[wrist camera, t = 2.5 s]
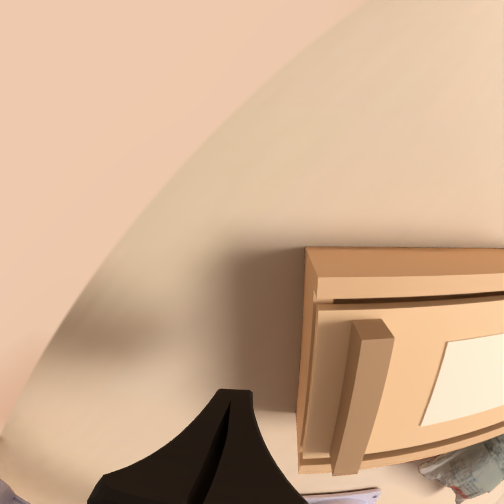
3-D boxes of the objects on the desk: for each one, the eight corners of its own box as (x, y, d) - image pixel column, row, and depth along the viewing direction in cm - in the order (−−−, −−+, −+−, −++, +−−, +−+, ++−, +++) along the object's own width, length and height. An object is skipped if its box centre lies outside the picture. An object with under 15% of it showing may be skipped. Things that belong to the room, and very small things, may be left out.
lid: (517, 408, 12) (532, 427, 10) (302, 450, 14) (303, 482, 11) (559, 288, 11) (583, 301, 8) (316, 304, 12) (324, 330, 10)
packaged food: (449, 487, 20) (462, 518, 15) (410, 453, 19) (427, 495, 14) (513, 437, 19) (533, 464, 14) (494, 386, 17) (524, 420, 12)
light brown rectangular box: (484, 389, 17) (515, 428, 12) (296, 413, 18) (298, 473, 13) (521, 248, 15) (572, 269, 10) (305, 246, 16) (317, 277, 11)
